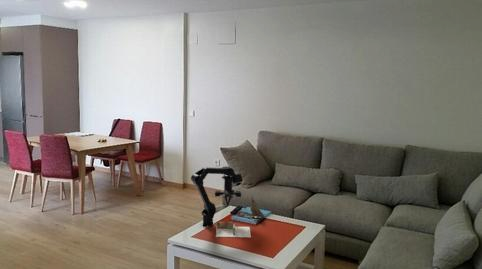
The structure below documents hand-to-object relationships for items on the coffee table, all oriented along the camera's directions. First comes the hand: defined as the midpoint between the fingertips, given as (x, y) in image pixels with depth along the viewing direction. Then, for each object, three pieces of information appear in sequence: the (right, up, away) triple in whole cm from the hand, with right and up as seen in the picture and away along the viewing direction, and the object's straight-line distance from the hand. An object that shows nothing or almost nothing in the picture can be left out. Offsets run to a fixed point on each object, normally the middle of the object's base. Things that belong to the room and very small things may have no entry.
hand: (227, 205), depth 280 cm
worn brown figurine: (+21, -11, +11) cm, 26 cm away
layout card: (+4, -15, -18) cm, 24 cm away
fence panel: (+5, -14, -19) cm, 24 cm away
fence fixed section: (-1, -14, -13) cm, 19 cm away
